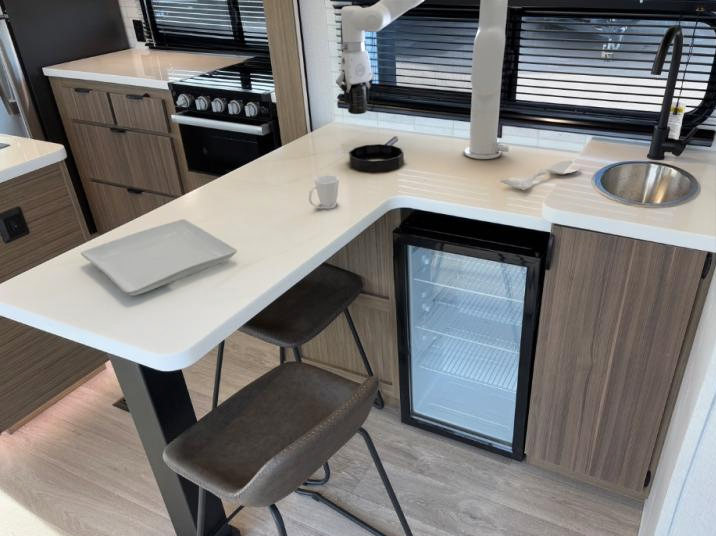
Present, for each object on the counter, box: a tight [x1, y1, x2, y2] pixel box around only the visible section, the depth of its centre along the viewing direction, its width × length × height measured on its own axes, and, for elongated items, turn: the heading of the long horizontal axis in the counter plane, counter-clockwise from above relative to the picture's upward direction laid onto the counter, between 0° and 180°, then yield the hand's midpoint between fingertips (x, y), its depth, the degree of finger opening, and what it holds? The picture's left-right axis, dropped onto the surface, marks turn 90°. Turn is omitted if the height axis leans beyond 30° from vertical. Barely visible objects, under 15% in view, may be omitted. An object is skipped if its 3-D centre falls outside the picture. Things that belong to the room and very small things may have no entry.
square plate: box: [80, 218, 238, 296], centre depth 144 cm, size 27×27×4 cm
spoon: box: [499, 160, 574, 191], centre depth 188 cm, size 9×32×4 cm, turn 130°
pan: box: [348, 135, 405, 174], centre depth 209 cm, size 18×28×4 cm, turn 160°
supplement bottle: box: [347, 83, 368, 115], centre depth 209 cm, size 7×7×12 cm
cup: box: [308, 174, 340, 210], centre depth 172 cm, size 7×10×8 cm
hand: (357, 101), depth 211 cm, fingers closed on supplement bottle, 6 cm apart
